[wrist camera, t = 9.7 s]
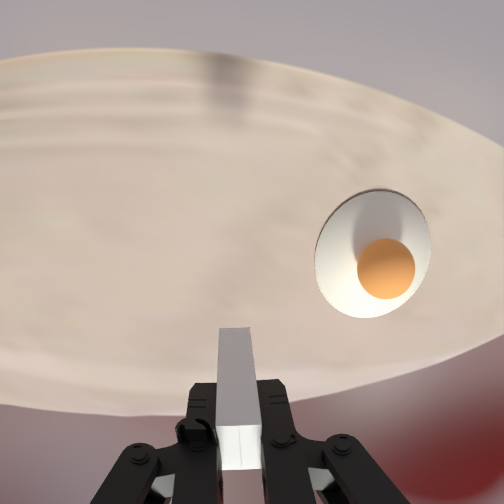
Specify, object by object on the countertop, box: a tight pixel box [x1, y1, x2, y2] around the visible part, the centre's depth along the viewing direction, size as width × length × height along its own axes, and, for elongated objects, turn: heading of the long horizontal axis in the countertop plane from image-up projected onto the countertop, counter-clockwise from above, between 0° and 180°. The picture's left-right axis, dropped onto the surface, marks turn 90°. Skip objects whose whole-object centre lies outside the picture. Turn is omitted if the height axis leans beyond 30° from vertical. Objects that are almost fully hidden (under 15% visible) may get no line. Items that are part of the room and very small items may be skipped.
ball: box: [357, 239, 415, 299], centre depth 27 cm, size 6×6×6 cm
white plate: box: [314, 191, 431, 318], centre depth 30 cm, size 13×13×1 cm
